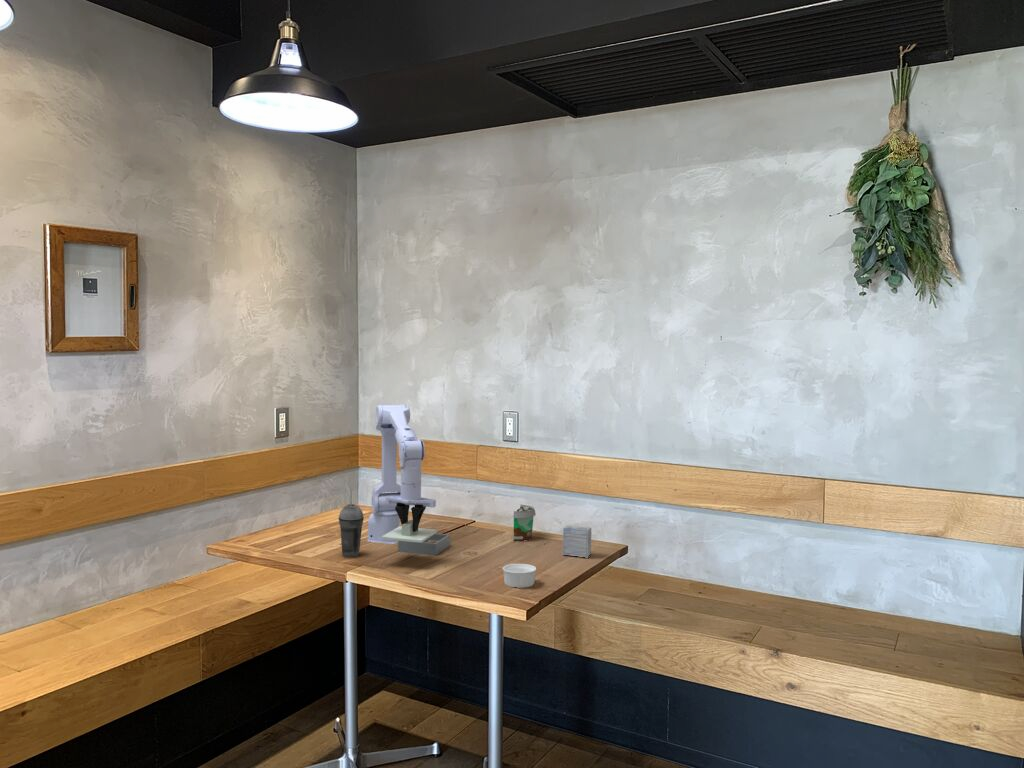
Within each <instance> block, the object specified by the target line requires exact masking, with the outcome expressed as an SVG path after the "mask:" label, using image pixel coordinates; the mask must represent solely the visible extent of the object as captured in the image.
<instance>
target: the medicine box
mask: <svg viewBox="0 0 1024 768" xmlns="http://www.w3.org/2000/svg"><path fill="white" fill-rule="evenodd" d="M562 529H563V530H562V556H563V555H573V556H583V557H588V556H589V555H590V554H591V555H592V527H591V526H581V525H580V526H579V525H569V524H568V525H565V526H564V527H563V528H562ZM591 555H590V556H591ZM590 556H589V557H590Z"/></svg>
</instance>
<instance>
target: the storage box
mask: <svg viewBox="0 0 1024 768" xmlns="http://www.w3.org/2000/svg"><path fill="white" fill-rule="evenodd" d="M428 540H438V542H436V543H428ZM397 544H398V545H397V546H398V547H397V552H398V553H405V554H406V553H408V554H416V555H417V554H418V555H426V556H428V555H429V556H437V555H439V554H440V553H441V552H444V550H446V549H448V548H450V546H451V535H450V534H445V533H435V534H434V535H432V536H431V537H429V538H428V539H426V540H425V541H423V542H422V543H418V542H408V541H398V542H397Z"/></svg>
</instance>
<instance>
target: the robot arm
mask: <svg viewBox="0 0 1024 768" xmlns="http://www.w3.org/2000/svg"><path fill="white" fill-rule="evenodd" d="M410 420H411V408H410V406H409V405H408V404H378V405H377V406H376V409H375V429H376V430H377V431H380V434H381V481H380V483H379V484H378V485H376V486H375V487H374V488H372V494H371V495H372V496H371V509H372V513H370V515H369V518H368V522H367V523H368V524H367V540H366V542H373V543H380V544H381V543H382V544H389V545H390V544H392V545H394V544H396V543H397V544H398V541H397V540H387V539H382V536H383V535H385V534H387V533H389V532H390V531H392V530H394V529H396V528H397V527H399V526H402V524H404V523H406V522H408V521H409V511H410V510H411V515H412V517H411V518H412V520H413V525H412V529H413V532H416V531H418V528H419V526H420V522H421V518H422V517H423V515H424V512H425V511H426V509H427V507H428V508H431V509H432V508H435V507H437V506H436V503H437V499H432V498H428V497H427V498H426V497H422V463H423V461H424V459H425V452H426V451H425V450H426V449H425V443H424V440H423V439H418V437H417V434H416V433H415V430H414V428H413V427H411V426H409V423H410ZM397 448H398V449H397ZM397 450H398V451H397ZM397 452H398V453H397ZM397 454H398V455H397ZM397 457H399V467H400V484H399V483H397V472H398V471H397V467H398V466H397V462H398V461H397ZM410 506H412V507H411V508H410ZM400 524H401V525H400Z"/></svg>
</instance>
